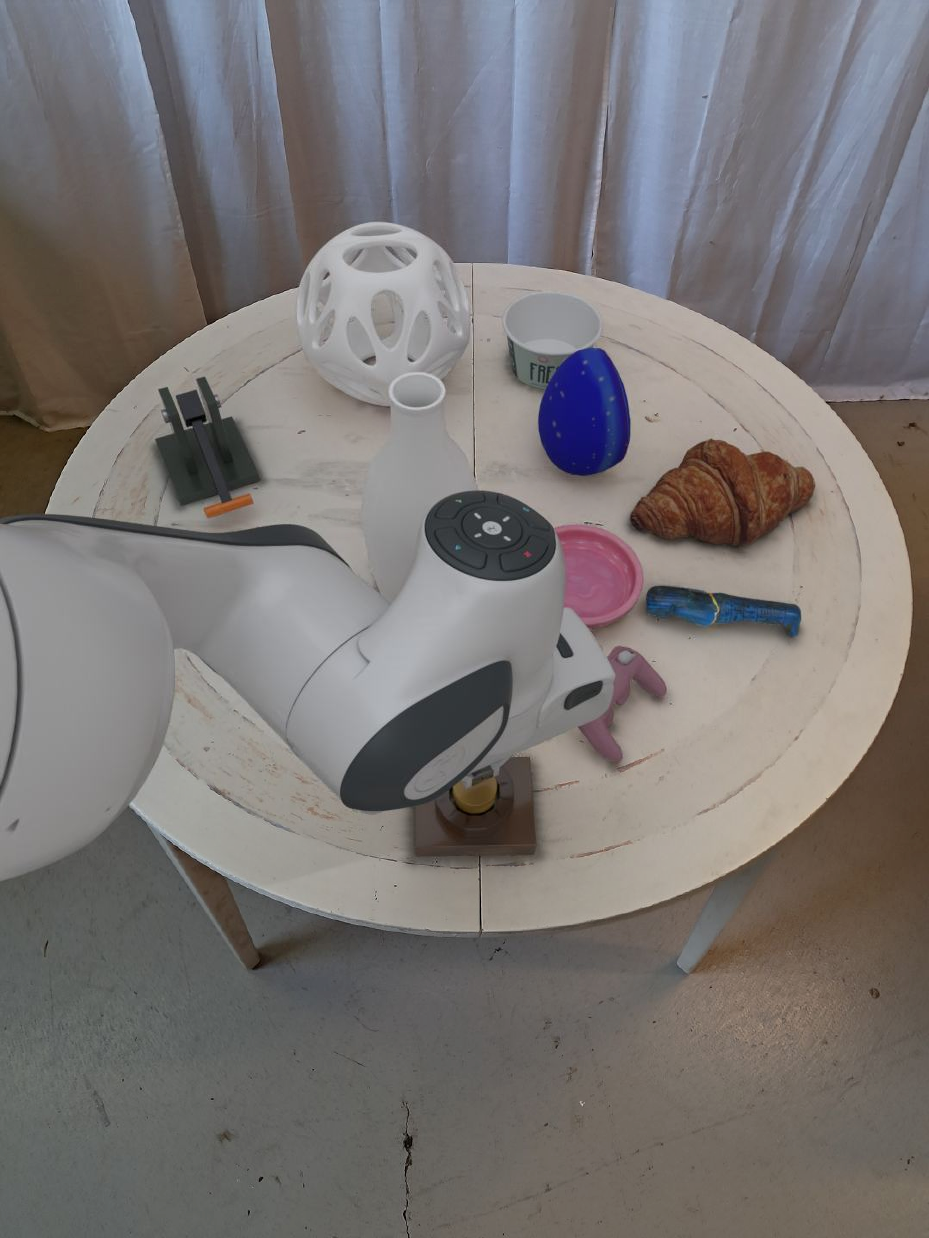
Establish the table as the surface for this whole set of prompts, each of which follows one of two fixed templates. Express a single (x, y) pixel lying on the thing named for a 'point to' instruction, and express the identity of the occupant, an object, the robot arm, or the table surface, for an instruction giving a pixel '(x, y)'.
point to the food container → (548, 333)
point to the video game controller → (621, 698)
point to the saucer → (599, 574)
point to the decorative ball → (353, 297)
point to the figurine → (720, 608)
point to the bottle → (409, 477)
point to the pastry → (723, 495)
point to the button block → (481, 820)
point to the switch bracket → (188, 458)
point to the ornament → (585, 414)
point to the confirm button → (475, 796)
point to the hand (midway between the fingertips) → (477, 774)
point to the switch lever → (209, 455)
